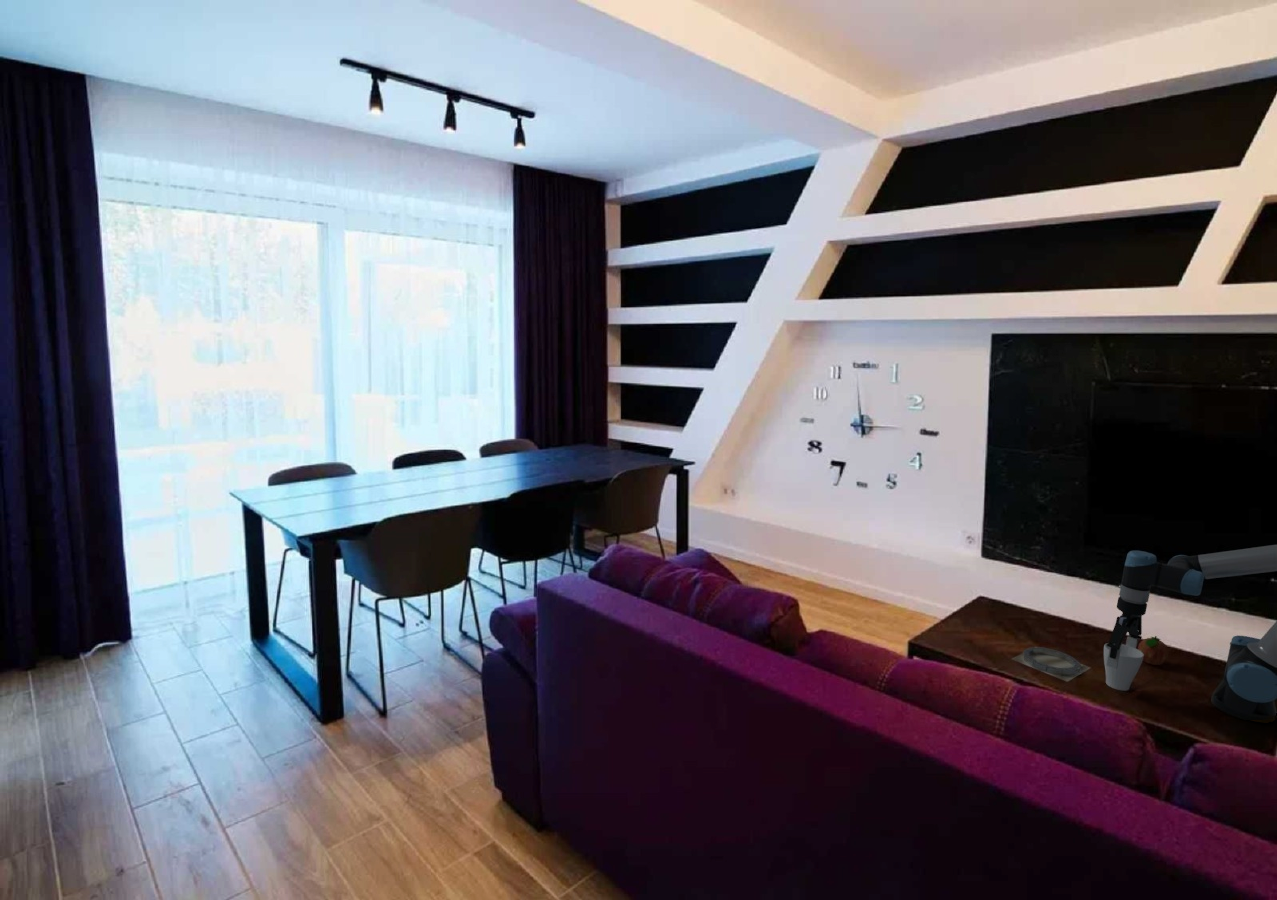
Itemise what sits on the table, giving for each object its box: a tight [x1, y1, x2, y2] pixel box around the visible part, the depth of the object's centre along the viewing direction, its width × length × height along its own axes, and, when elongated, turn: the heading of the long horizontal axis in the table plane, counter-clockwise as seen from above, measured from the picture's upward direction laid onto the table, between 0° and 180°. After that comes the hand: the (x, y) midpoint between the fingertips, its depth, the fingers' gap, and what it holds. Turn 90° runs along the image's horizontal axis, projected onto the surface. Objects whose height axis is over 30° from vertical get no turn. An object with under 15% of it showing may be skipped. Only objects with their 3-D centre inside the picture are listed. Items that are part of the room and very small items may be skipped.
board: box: [1011, 652, 1092, 682], centre depth 235 cm, size 18×18×1 cm
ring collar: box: [1022, 646, 1081, 675], centre depth 235 cm, size 16×16×2 cm
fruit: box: [1137, 635, 1169, 666], centre depth 241 cm, size 9×10×10 cm
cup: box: [1103, 642, 1144, 692], centre depth 221 cm, size 10×10×14 cm
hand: (1120, 661), depth 221 cm, fingers open, 13 cm apart
